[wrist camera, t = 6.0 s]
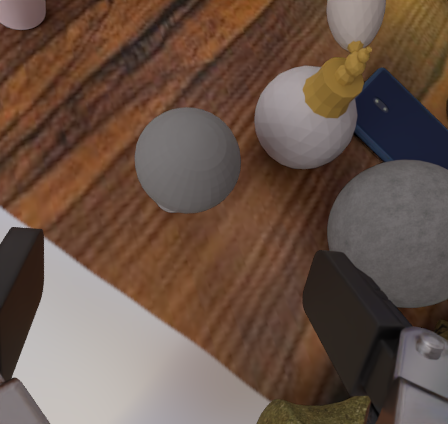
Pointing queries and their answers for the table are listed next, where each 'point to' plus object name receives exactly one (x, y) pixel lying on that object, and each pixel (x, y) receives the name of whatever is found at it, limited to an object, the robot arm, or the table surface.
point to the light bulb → (187, 160)
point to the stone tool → (327, 414)
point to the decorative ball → (396, 229)
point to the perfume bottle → (320, 93)
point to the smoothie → (22, 13)
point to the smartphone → (398, 123)
